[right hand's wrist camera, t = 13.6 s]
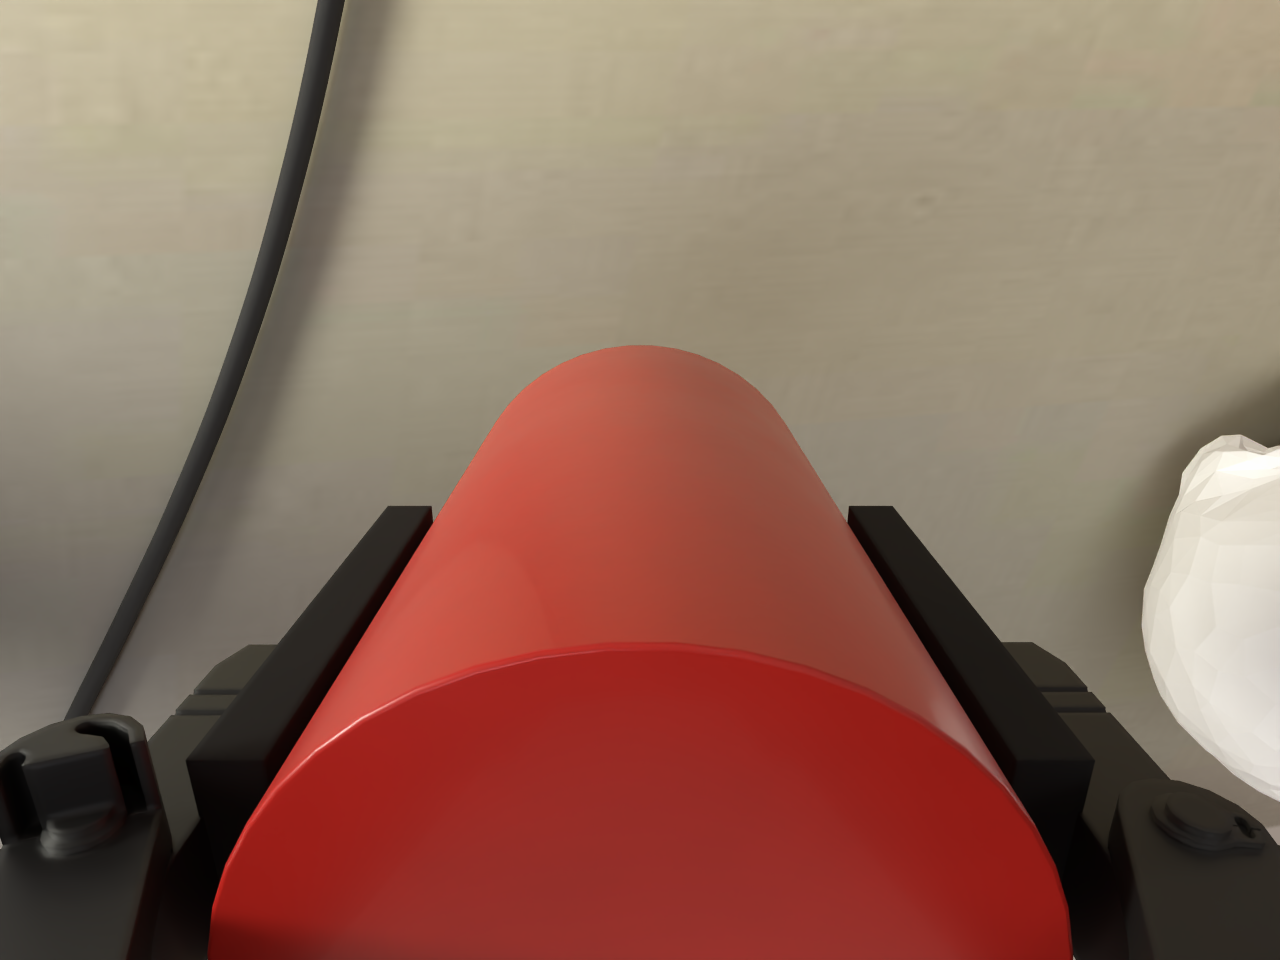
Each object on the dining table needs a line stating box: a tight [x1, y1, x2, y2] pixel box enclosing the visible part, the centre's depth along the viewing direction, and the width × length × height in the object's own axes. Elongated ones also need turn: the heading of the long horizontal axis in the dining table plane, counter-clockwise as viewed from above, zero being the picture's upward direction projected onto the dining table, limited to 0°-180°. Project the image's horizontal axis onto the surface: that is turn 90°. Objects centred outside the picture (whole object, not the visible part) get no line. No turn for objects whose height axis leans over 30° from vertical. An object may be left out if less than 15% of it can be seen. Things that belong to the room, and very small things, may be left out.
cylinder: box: [207, 346, 1073, 960], centre depth 12 cm, size 7×7×11 cm
